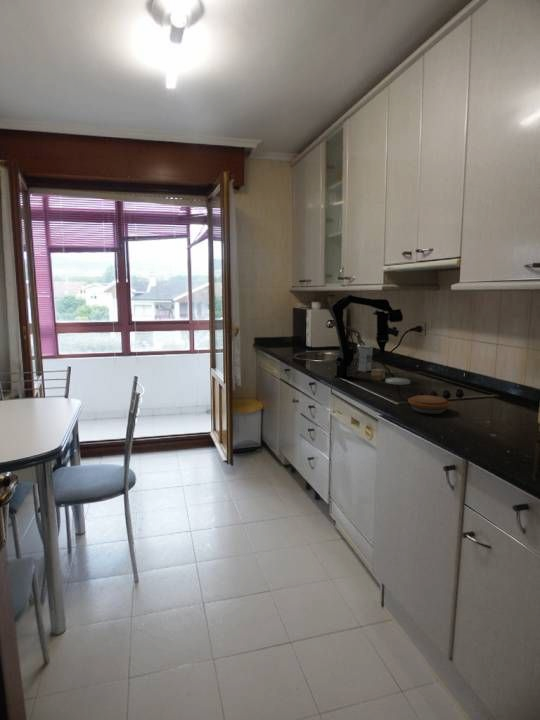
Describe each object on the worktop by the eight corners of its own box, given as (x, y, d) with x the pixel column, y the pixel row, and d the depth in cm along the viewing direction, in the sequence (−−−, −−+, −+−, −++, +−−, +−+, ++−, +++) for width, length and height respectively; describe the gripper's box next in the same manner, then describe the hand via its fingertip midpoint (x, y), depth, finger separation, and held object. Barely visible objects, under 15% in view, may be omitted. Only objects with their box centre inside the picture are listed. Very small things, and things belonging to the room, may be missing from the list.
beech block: (379, 380, 230) (379, 370, 229) (371, 379, 233) (371, 369, 233) (384, 379, 233) (384, 369, 233) (376, 377, 237) (376, 368, 236)
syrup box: (363, 369, 261) (364, 344, 258) (371, 370, 256) (372, 345, 254) (357, 370, 257) (358, 345, 254) (365, 372, 252) (367, 346, 250)
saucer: (402, 385, 216) (402, 383, 216) (380, 382, 224) (380, 380, 224) (414, 382, 224) (414, 380, 224) (393, 379, 233) (393, 376, 233)
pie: (437, 404, 181) (438, 392, 180) (457, 415, 166) (458, 402, 165) (400, 405, 179) (401, 393, 179) (418, 416, 164) (418, 403, 163)
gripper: (398, 324, 226) (398, 354, 229) (397, 321, 244) (397, 349, 247) (376, 324, 229) (376, 355, 232) (376, 321, 247) (376, 349, 250)
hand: (382, 352), depth 240 cm, fingers open, 9 cm apart
